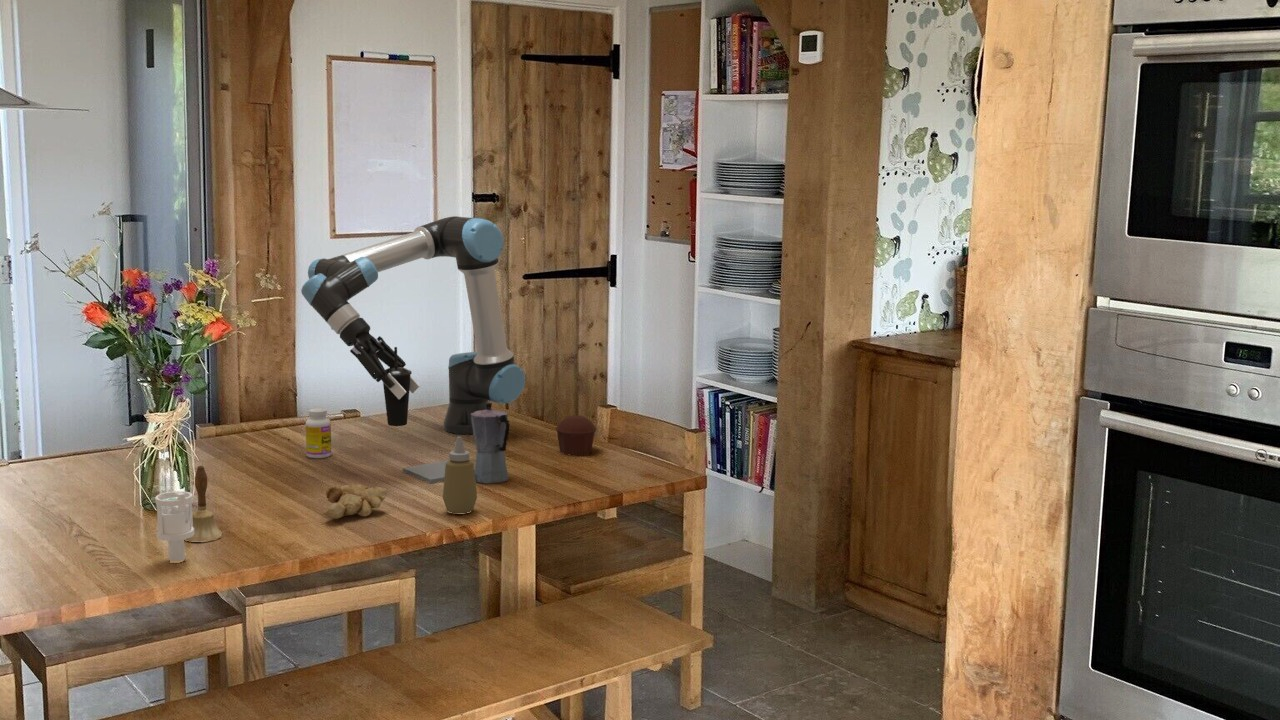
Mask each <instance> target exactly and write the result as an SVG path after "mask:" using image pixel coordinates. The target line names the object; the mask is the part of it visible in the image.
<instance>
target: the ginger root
mask: <svg viewBox="0 0 1280 720" xmlns="http://www.w3.org/2000/svg"><path fill="white" fill-rule="evenodd" d="M387 494H388V489H387V488H385V487H379V486H377V487H374V486H373V487H368V485H363V484H360V483H352V484H345V485H342V486H339V485H335V484H334V485H331V486H328V487H327V490H326V492H325V495H326V499H327V502H329V503H331V504H330V505H329V506H328V507H327V508H326V509H325V510H324V511H323V515H324V516H325V517H328V518H331V519H335V520H336V519H341V518H342V517H345V516H347V517H348V515H350V516H354V515H356V514H357V515H359V516H361V517H367V516H370V515H371V514H372V512H373V511H372V510H373V509H379V508H380V507H381V505H382V502H383V501H384V500H385V498H386V497H387Z"/></svg>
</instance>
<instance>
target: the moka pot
mask: <svg viewBox="0 0 1280 720" xmlns="http://www.w3.org/2000/svg"><path fill="white" fill-rule="evenodd" d="M492 406H493V404H492V403H490V402H489V403H487V404H486V407H487V410H481V411H475V412H474V413H471V421H472V427H473V434H472V435H473V438H474V439H473V440H474V443H475V450H476V453H475V467H474V470H475V483H479V484H481V483H482V484H497V483H504V482H507V481H508V480H509V473H508V467H507V462H506V455H505V451H506V450H507V444H508V443H507V442H508V438H509V437H508V436H509V433H510V421H509V419H508V417H509V415H508V413H507V412H505V411H502V410H496V409H492Z"/></svg>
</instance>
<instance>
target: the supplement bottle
mask: <svg viewBox="0 0 1280 720" xmlns="http://www.w3.org/2000/svg"><path fill="white" fill-rule="evenodd" d="M327 414H328V410H327V409H326V408H323V407H322V408H321V407H315V408H310V409H309V410H308V415H309V418H307V420H306V421H305V446H306V447H305V452H306V453H305V454H306V457H308V458H311V459H325V458H329V457H330V456H331V455H332V428H331V427H332V425H331V423H332V422H331V420H330V419H329V418H327Z"/></svg>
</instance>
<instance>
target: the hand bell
mask: <svg viewBox="0 0 1280 720" xmlns="http://www.w3.org/2000/svg"><path fill="white" fill-rule="evenodd" d="M194 484H195V485H194V486H195V490H196V492H197V510H196V511H194V512H192V518H193V527H194V535H193V536H192V537H190V538H187V539H186V540H189V541H204V540H210V539H215V538H218V537H220V536H221V535H222V533H223V532H222V530H220V529H219V528H218V527H217V524H216V521H215V518H214V513H213V512H212V511H211V510H208V509H207V499H206V498H207V497H206V494H207V489H208V475H207V472H206V470H205V466H204V465H197V467H196V472H195V475H194Z"/></svg>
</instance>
